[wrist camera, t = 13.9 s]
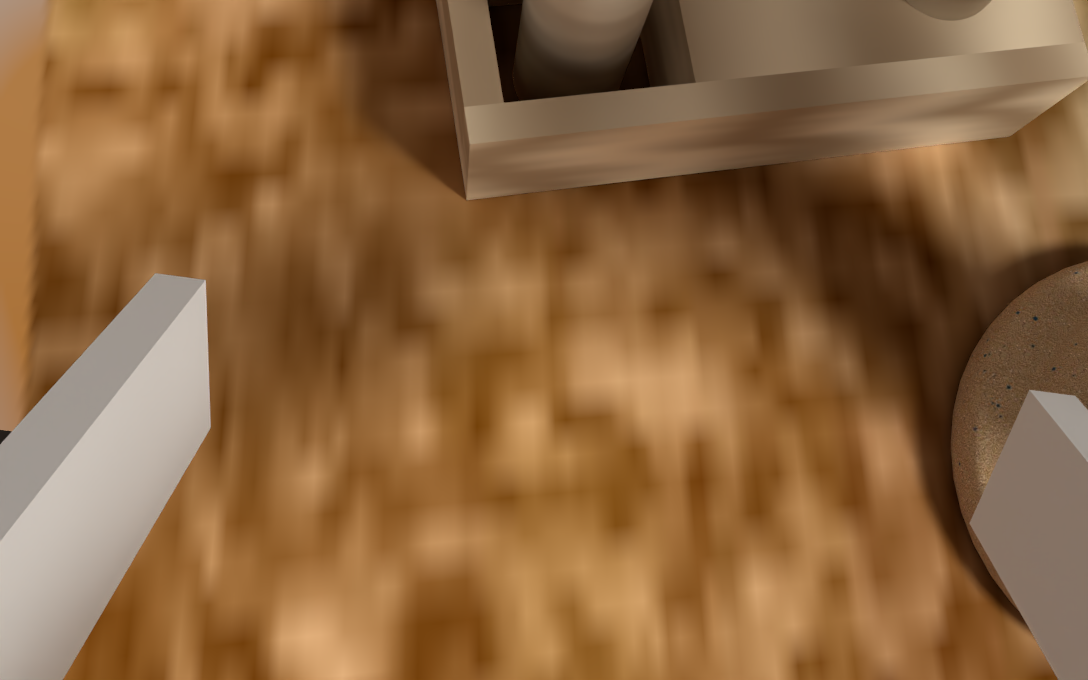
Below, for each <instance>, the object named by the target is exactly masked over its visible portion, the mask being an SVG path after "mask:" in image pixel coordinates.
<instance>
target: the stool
mask: <svg viewBox="0 0 1088 680" xmlns="http://www.w3.org/2000/svg"><path fill="white" fill-rule="evenodd" d="M436 3H437V10H438V16H439V23H440V30H441V36H442V43H443V49H444V56H445V62H446V69H447V76H448V82H449V89H450V95H451V102H452V109H453V115H454V122H455V128H456V135H457V141H458V148H459V155H460V161H461V168H462V174H463V181H464V188H465V194H466V200H473V199H481V198H490V197H498V196H507V195H516V194H524V193H533V192H541V191H550V190H558V189H567V188H575V187H584V186H592V185H601V184H609V183H618V182H626V181H635V180H643V179H652V178H660V177H669V176H677V175H686V174H694V173H703V172H711V171H720V170H728V169H737V168H745V167H754V166H762V165H771V164H779V163H788V162H796V161H805V160H813V159H822V158H830V157H839V156H848V155H856V154H865V153H873V152H882V151H890V150H899V149H907V148H916V147H924V146H933V145H941V144H950V143H958V142H967V141H975V140H984V139H992V138H1001V137H1009V136H1011V135H1012V134H1014V133H1015V132H1016V131H1018V130H1019V129H1021V128H1022V127H1023V126H1025V125H1026V124H1028V123H1029V122H1030V121H1032V120H1033V119H1035V118H1036V117H1037V116H1039V115H1040V114H1042V113H1043V112H1044V111H1046V110H1047V109H1049V108H1050V107H1051V106H1053V105H1054V104H1056V103H1057V102H1058V101H1060V100H1061V99H1063V98H1064V97H1065V96H1067V95H1068V94H1070V93H1071V92H1072V91H1074V90H1075V89H1077V88H1078V87H1079V86H1081V85H1082V84H1084V83H1085V82H1086V81H1088V52H1087V48H1086V45H1085V42H1084V38H1083V35H1082V31H1081V28H1080V24H1079V21H1078V17H1077V14H1076V10H1075V7H1074V3H1073V0H653V2H652V5H651V7H650V10H649V12H648V15H647V18H646V20H645V23H644V25H643V28H642V31H641V33H640V37H641V42H642V47H643V52H644V57H645V62H646V67H647V73H648V78H649V83H650V88H641V89H631V90H622V91H612V92H603V93H593V94H583V95H574V96H564V97H555V98H545V99H536V100H526V101H517V102H507V103H504V101H503V95H502V89H501V83H500V77H499V70H498V64H497V58H496V52H495V46H494V40H493V34H492V27H491V21H490V15H489V9H488V7H492V6H502V5H513V4H523V0H436Z"/></svg>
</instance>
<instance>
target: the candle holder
mask: <svg viewBox="0 0 1088 680" xmlns="http://www.w3.org/2000/svg"><path fill="white" fill-rule="evenodd" d="M1029 390H1035V391H1043V392H1050V393H1058V394H1065V395H1073V396H1076V397H1077V398H1078V399H1079V401H1080V402H1081V403H1082V404H1083V405H1084V406H1085V407H1086V409H1087V410H1088V261H1086V262H1083V263H1080V264H1077V265H1073V266H1070V267H1067V268H1064V269H1062V270H1060V271H1058V272H1056V273H1055V274H1053V275H1051V276H1049V277H1047V278H1045V279H1043V280H1041V281H1039V282H1037V283H1036V284H1034V285H1033V286H1031V287H1030V288H1029V289H1027V290H1026V291H1025V292H1023V293H1022V294H1021V295H1019V296H1018V297H1017V298H1016V299H1014V300H1013V301H1012V302H1010V304H1009V305H1008V306H1007V307H1006V308H1005V309H1004V310H1003V311H1002V312H1001V313H1000V315H999V316H998V317H997V318H996V319H995V320H994V321H993V322H992V323H991V324H990V326H989V327H988V328H987V330H986V331H985V333H984V334H983V336H982V337H981V339H980V341H979V342H978V344H977V345H976V347H975V349H974V350H973V352H972V354H971V356H970V358H969V361H968V363H967V366H966V368H965V371H964V373H963V375H962V378H961V380H960V384H959V388H958V392H957V397H956V401H955V405H954V410H953V418H952V433H951V455H952V468H953V479H954V483H955V488H956V492H957V496H958V501H959V505H960V509H961V513H962V516H963V518H964V521H965V523H966V526H967V529H968V531H969V534H970V536H971V539H972V542H973V544H974V546H975V548H976V550H977V552H978V553H979V555H980V557H981V559H982V561H983V562H984V564H985V566H986V568H987V570H988V571H989V573H990V575H991V577H992V578H993V579H994V581H995V582H996V583H997V585H998V586H999V587H1000V588H1001V590H1002V591H1003V592H1004V594H1005V595H1006V596H1007V598H1008V599H1009V600H1010V602H1011V603H1012V604H1013V605H1014V606H1015V607H1016V608H1017V606H1016V604H1015V603H1014V601H1013V599H1012V597H1011V596H1010V594H1009V592H1008V590H1007V589H1006V587H1005V585H1004V583H1003V582H1002V580H1001V578H1000V576H999V575H998V573H997V571H996V569H995V567H994V566H993V564H992V562H991V560H990V559H989V557H988V555H987V553H986V552H985V550H984V548H983V546H982V545H981V543H980V541H979V539H978V538H977V536H976V534H975V532H974V531H973V529H972V527H971V525H970V524H969V523H970V521H971V519H972V516H973V514H974V512H975V510H976V508H977V505H978V503H979V501H980V499H981V496H982V494H983V492H984V490H985V487H986V485H987V483H988V481H989V479H990V476H991V474H992V472H993V470H994V467H995V465H996V463H997V461H998V458H999V456H1000V454H1001V452H1002V450H1003V447H1004V445H1005V443H1006V441H1007V438H1008V436H1009V434H1010V432H1011V429H1012V427H1013V425H1014V423H1015V421H1016V418H1017V416H1018V414H1019V412H1020V409H1021V407H1022V405H1023V403H1024V400H1025V398H1026V396H1027V394H1028V392H1029ZM1017 609H1018V608H1017Z"/></svg>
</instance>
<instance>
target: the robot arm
mask: <svg viewBox="0 0 1088 680" xmlns="http://www.w3.org/2000/svg"><path fill="white" fill-rule="evenodd" d="M210 428H211V420H210V391H209V362H208V333H207V304H206V280H202V279H194V278H187V277H179V276H172V275H164V274H157V273H155V274H154V276H153V277H152V278H151V279H150V280H149V281H148V282H147V283H146V284H145V285H144V287H143V288H142V289H141V290H140V291H139V292H138V293H137V294H136V295H135V296H134V298H133V299H132V300H131V301H130V302H129V303H128V304H127V305H126V306H125V308H124V309H123V310H122V311H121V312H120V313H119V314H118V315H117V316H116V317H115V319H114V320H113V321H112V322H111V323H110V324H109V325H108V326H107V327H106V328H105V330H104V331H103V332H102V333H101V334H100V335H99V336H98V337H97V338H96V339H95V341H94V342H93V343H92V344H91V345H90V346H89V347H88V348H87V349H86V350H85V352H84V353H83V354H82V355H81V356H80V357H79V358H78V359H77V360H76V361H75V363H74V364H73V365H72V366H71V367H70V368H69V369H68V370H67V371H66V373H65V374H64V375H63V376H62V377H61V378H60V379H59V380H58V381H57V382H56V384H55V385H54V386H53V387H52V388H51V389H50V390H49V391H48V392H47V393H46V395H45V396H44V397H43V398H42V399H41V400H40V401H39V402H38V403H37V404H36V406H35V407H34V408H33V409H32V410H31V411H30V412H29V413H28V414H27V415H26V417H25V418H24V419H23V420H22V421H21V422H20V423H19V424H18V425H17V426H16V428H15V429H14V430H13V431H12V432H11V431H4V430H0V680H63V678H64V677H65V675H66V673H67V672H68V670H69V668H70V667H71V665H72V663H73V661H74V660H75V658H76V656H77V655H78V653H79V651H80V649H81V648H82V646H83V644H84V643H85V641H86V639H87V638H88V636H89V634H90V632H91V631H92V629H93V627H94V626H95V624H96V622H97V621H98V619H99V617H100V615H101V614H102V612H103V610H104V609H105V607H106V605H107V604H108V602H109V600H110V598H111V597H112V595H113V593H114V592H115V590H116V588H117V586H118V585H119V583H120V581H121V580H122V578H123V576H124V575H125V573H126V571H127V569H128V568H129V566H130V564H131V563H132V561H133V559H134V558H135V556H136V554H137V552H138V551H139V549H140V547H141V546H142V544H143V542H144V540H145V539H146V537H147V535H148V534H149V532H150V530H151V529H152V527H153V525H154V523H155V522H156V520H157V518H158V517H159V515H160V513H161V512H162V510H163V508H164V506H165V505H166V503H167V501H168V500H169V498H170V496H171V494H172V493H173V491H174V489H175V488H176V486H177V484H178V483H179V481H180V479H181V477H182V476H183V474H184V472H185V471H186V469H187V467H188V466H189V464H190V462H191V460H192V459H193V457H194V455H195V454H196V452H197V450H198V449H199V447H200V445H201V443H202V442H203V440H204V438H205V437H206V435H207V433H208V431H209V430H210ZM969 524H970V525H971V527H972V529H973V531H974V532H975V534H976V536H977V538H978V539H979V541H980V543H981V545H982V546H983V548H984V550H985V552H986V553H987V555H988V557H989V559H990V560H991V562H992V564H993V566H994V567H995V569H996V571H997V573H998V575H999V576H1000V578H1001V580H1002V582H1003V583H1004V585H1005V587H1006V589H1007V590H1008V592H1009V594H1010V596H1011V597H1012V599H1013V601H1014V603H1015V604H1016V606H1017V608H1018V610H1019V611H1020V613H1021V615H1022V617H1023V618H1024V620H1025V622H1026V624H1027V625H1028V627H1029V629H1030V631H1031V633H1032V634H1033V636H1034V638H1035V640H1036V641H1037V643H1038V645H1039V647H1040V648H1041V650H1042V652H1043V654H1044V655H1045V657H1046V659H1047V661H1048V662H1049V664H1050V666H1051V668H1052V669H1053V671H1054V673H1055V675H1056V676H1057V678H1058V680H1088V410H1087V409H1086V407H1085V406H1084V405H1083V404H1082V403H1081V402H1080V401H1079V399H1078V398H1077V397H1076V396H1073V395H1065V394H1058V393H1050V392H1043V391H1035V390H1029V392H1028V394H1027V396H1026V398H1025V400H1024V403H1023V405H1022V407H1021V409H1020V412H1019V414H1018V416H1017V418H1016V421H1015V423H1014V425H1013V427H1012V429H1011V432H1010V434H1009V436H1008V438H1007V441H1006V443H1005V445H1004V447H1003V450H1002V452H1001V454H1000V456H999V458H998V461H997V463H996V465H995V467H994V470H993V472H992V474H991V476H990V479H989V481H988V483H987V485H986V487H985V490H984V492H983V494H982V496H981V499H980V501H979V503H978V505H977V508H976V510H975V512H974V514H973V516H972V519H971V521H970V523H969Z"/></svg>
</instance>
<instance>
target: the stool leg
mask: <svg viewBox="0 0 1088 680" xmlns="http://www.w3.org/2000/svg"><path fill="white" fill-rule="evenodd" d="M652 2H653V0H523V4H522V11H521V18H520V25H519V32H518V39H517V46H516V53H515V60H514V67H513V84H514V88H515V91H516V94H517V96H518V98H519V100H520V101H526V100H536V99H545V98H555V97H564V96H574V95H583V94H593V93H603V92H612V91H618V90H619V88H620V85H621V82H622V80H623V77H624V75H625V72H626V70H627V67H628V64H629V62H630V59H631V57H632V54H633V51H634V49H635V46H636V44H637V41H638V38H639V36H640V33H641V31H642V28H643V25H644V23H645V20H646V18H647V15H648V12H649V10H650V7H651V5H652Z"/></svg>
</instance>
